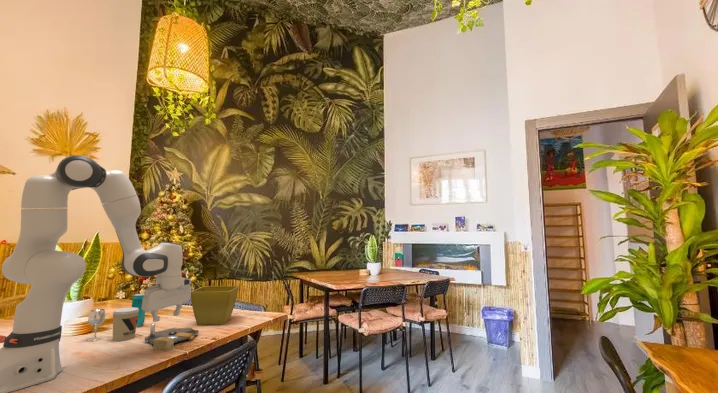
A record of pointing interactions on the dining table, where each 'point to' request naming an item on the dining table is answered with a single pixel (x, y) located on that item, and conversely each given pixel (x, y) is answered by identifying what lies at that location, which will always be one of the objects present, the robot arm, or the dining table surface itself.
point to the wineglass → (96, 320)
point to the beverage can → (137, 303)
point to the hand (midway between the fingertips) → (166, 318)
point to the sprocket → (171, 334)
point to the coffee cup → (124, 323)
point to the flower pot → (213, 304)
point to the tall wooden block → (163, 344)
